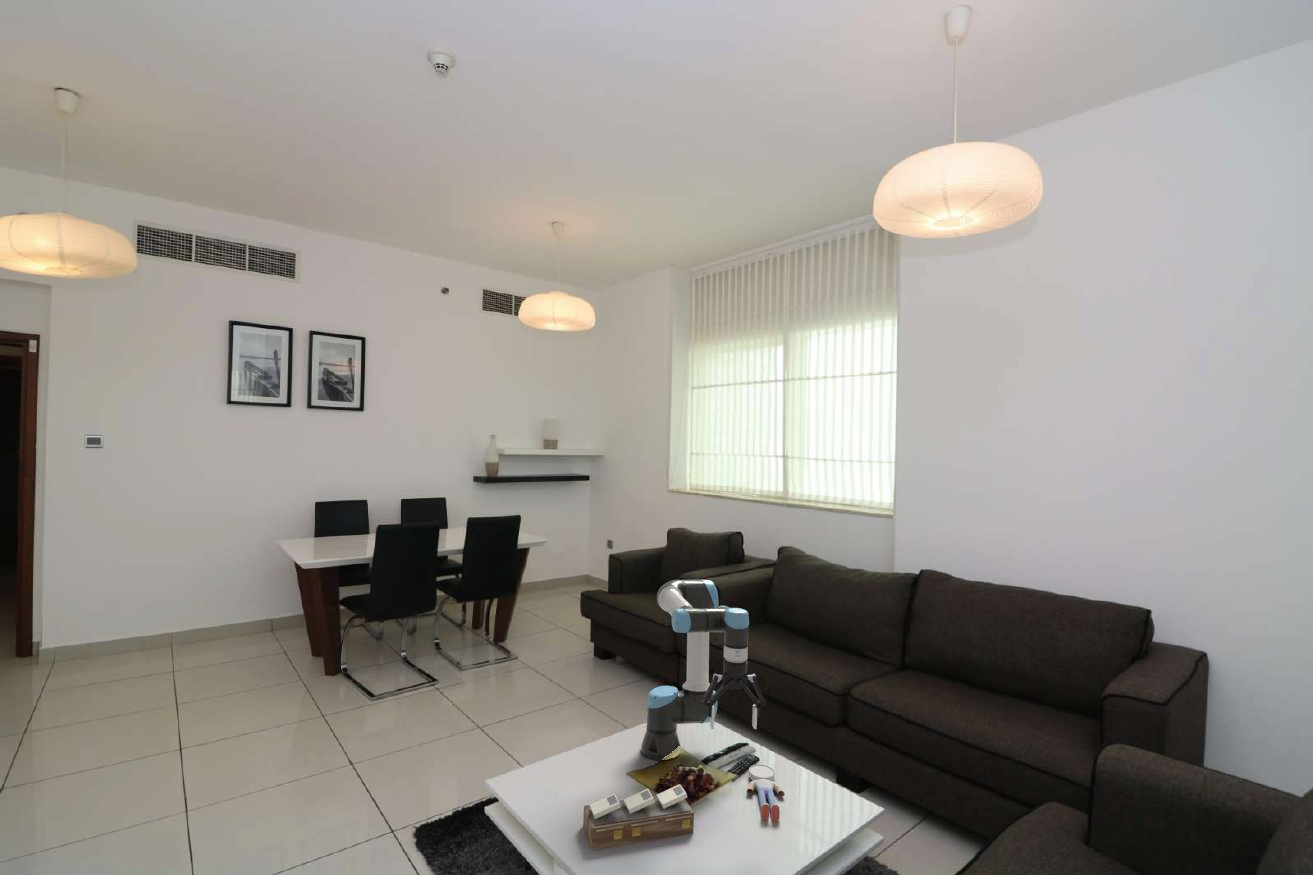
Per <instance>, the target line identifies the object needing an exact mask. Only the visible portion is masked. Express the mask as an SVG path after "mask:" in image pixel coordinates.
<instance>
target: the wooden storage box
mask: <svg viewBox="0 0 1313 875" xmlns="http://www.w3.org/2000/svg"><path fill="white" fill-rule="evenodd" d="M652 796H653V798H654V801H655V802H654V803H652V804H650V805H648V806H646V807H644V808H642V809H640V810H637V811H635V812H633V813H631V814H630V813H629V811H628V809H627V807H626V805H625V803H624V799H619V800H618V801H619V803H620V806H621V807H620V808H618V809H616V810H614V811H612V812H610V813H608V814H605V815H603V816H601V817H599V818H597V819H595V818H594V816H593V813H592V811H591V808H590V804H586V805H584V806H583V817H582V818H583V819H582V820H583V821H582V822H583V823H582V824H583V825H582V826H583V830H584V832H585V835H586V837H587V838H586V839H587V842H588V844H589V846H590V848H591V851H593V850H594V851H595V850H600V849H606V848H612V847H618V846H624V845H631V844H635V843H637V844H638V843H642V842H648V841H655V840H661V839H667V838H672V837H678V836H685V835H690V833H691V834H694V827H695V825H694V824H695V812H694V811H693V809H692V808H691V806H690V804H689V802H687V800H686V798H685V799H683V800H681V801H679V802H677V803H675V804H673V805H671V806H669V807H667V808H665V809H663V807H662V806H661V804H660V802H659V801H658V799H657V794H656V795H652Z"/></svg>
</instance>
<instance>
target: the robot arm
mask: <svg viewBox="0 0 1313 875" xmlns="http://www.w3.org/2000/svg"><path fill="white" fill-rule="evenodd" d="M656 601H657V605H658V606H659V607H660V608H661V610H663V611H664V612H667V613H668V614H669V615H670V616H671V626H672V630H673V631H674V632H675V633H682V634H687V635H686V636H687V637H686V638H687V639H686V640H687V642H686V681H685V682H683V684H682V690H678V688H677V687H676V686H673V685H671V686H670V685H660V686H657V687H655V688H652V689H651V690H650V691H649V692H648V694H647V702H646V706H647V707H646V730H645V733H644V736H643V737H642V738H643V739H642V742H641V744H640V746H641V747H640V752H641V754H642V755H643V756H644V755H645V756H644V757H645V758H647V757H648V759H650V760H653V761H661V760H662V759H663V758H664V757H665V756H667V755H669V754H670V753H672V751H674V750H675V749H676V748H677V747H678V746H681V742H680V739H679V735H678V731H677V729H678V725H689V724H701V725H702V724H705V723H709V726H710V728H711V730H714V729H715V718H716V715H717V711H718V700H719V699H720V698H721V697H722V696H723V695H724V694H725V692H727V691H728V690H730V691H734V690H736V691H740V690H742V689H743V690H744V692H745V693H746V694H747V696H748V697H749V698H750V700H751V701H752V702H753V705H752V718H751V719H752V720H751V722H752V723H751V724H752V727H753V729H754V730H757V729H758V728H757V727H758V726H757V725H758V718H760V717H761V708H762V707H763V706H764V707H765V706H767V701H766V698H765V697H764V695H763V693H762V690H761V688H760V686H759V683H758V676H757V675H756V674H755V673H752V674H748V655H749V654H748V653H749V652H748V649H749V648H748V647H749V627H750V620H749V619H750V617H749V612H748V611H747V610H746V609H743V608H739V607H729V606H727V605H719V595H718V590H717V587H716V584H715V582H713V581H712V580H709V579H702V578H701V579H673V580H670V581H668V582H665V583H664V584H663V585H662V586H660V588H659V589H658V592H657V594H656ZM710 633H724V636H723V638H724V639H723V640H724V641H723V658H724V659H723V661H722V662H723V664H722V665H723V668H722V669H723V670H722V674H717V673H716V672H714V673H713V674H712V679H711V681H710V679H709V677H710V675H709V672H710V670H709V668H710V666H709V665H710V663H709V662H710V661H709V660H710ZM721 680H722V684H721V685H720V686H719V687H718V688H717V690H716V691H715V689H716V687H717V685H718V683H719V682H720V681H721ZM709 681H710V682H709ZM748 681H750V683H752V685H753V687H754V689H755V692H756V693H757V696H758V698H759V699H758V698H756V696H755V695H754V694H753V693H752V691H751V690H750V689H749V687H748V686H747V685H746V684H747V683H748Z"/></svg>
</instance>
